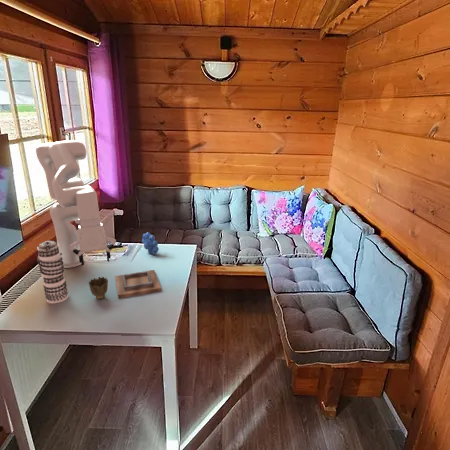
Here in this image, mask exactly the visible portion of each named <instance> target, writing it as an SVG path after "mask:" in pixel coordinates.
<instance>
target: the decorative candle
mask: <svg viewBox="0 0 450 450" xmlns="http://www.w3.org/2000/svg"><path fill="white" fill-rule="evenodd" d="M36 250H37V255H38V256H37V258H36V260H37V265H39V266H38V268H39V272H40V275H41V277H42V279H43V280H42V281H43V285H42V286H43V291H44V295H45V299H46V302H47V303H48V304H54V305H55V304H59V303H62V302H64V301H66V300H67V299H68V298H69V294H68V293H69V292H68V287H67V286H68V285H67V281H66V278H65V276H64V272H65V268H64V266H63V265H62V264H63V261H62V260H63V258H62V257H60V255H62V253H60V251H59V244H58V243H57V241H54V240H45V241H43V242H40V243H39V245H38V246H37V247H36Z"/></svg>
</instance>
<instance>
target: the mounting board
mask: <svg viewBox="0 0 450 450" xmlns="http://www.w3.org/2000/svg"><path fill="white" fill-rule="evenodd" d="M114 277H115V278H114V279H115V285H116V290H117V291H116V292H117V299H122V298H128V297H135V296H140V295H145V294H150V293H151V294H152V293H156V292H161V291H162V287H161V283H160V280H159V279H158V276H157V273H156V270H155V269H152V270H150V269H149V270H145V271H139V272H138V271H137V272H132V273H131V272H130V273H125V274H119V275H118V274H117V275H114Z"/></svg>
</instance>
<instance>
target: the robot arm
mask: <svg viewBox="0 0 450 450" xmlns="http://www.w3.org/2000/svg"><path fill="white" fill-rule="evenodd" d="M35 153H36V158H37V160H38V162H39V163H40V166H41V167H42V168H43V171H44V173H45V177H46V184H47V188H48V194H49V195H50V197H51V199H53V201H57V203H55V204H52V205H50V208H49V214H50V218H51V220H52V223H53V227H54V232H55V236H56V243H58V244H59V251H60V253H62V255H60V257H62V258H63V260H62V261H63V264H62V265H63V266H64V268H63V269H72V268H77V267H78V266H81V265H82V266H84V265H85V257H84V254H83V253H87V252H88V253H89V252H95V251H103V250H105V252H106V260H107V262H110V259H111V252H112V249H114V247H115V244H116V243H117V239H115V238H113V237H109V236H106V231H105V228H104V225H103V223H102V222H101V217H100V209H99V202H98V201H99V200H98V195H97V191H96V190H95V189H94V188H93V186H92V185H85V183H84V181H83V180H82V179H81V178H80V177H76V176H78V175H79V173H80V171H81V170H80V166H79V163H78V161H81V160H85V159H86V157H87V148H86V146H85V144H84V143H83V142H82V141H81V140H78V139H77V140H76V139H75V140H74V139H73V140H72V139H71V140H61V141H60V140H59V141H55V142H46V143H45V142H44V143H41V144H38V145H37V146H36V147H35ZM73 221H74V222H75V224H76V225H78V227H76V226H75V225H74V224H72V223H71V222H73ZM108 242H109V243H110V245H108Z"/></svg>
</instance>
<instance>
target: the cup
mask: <svg viewBox="0 0 450 450" xmlns="http://www.w3.org/2000/svg"><path fill="white" fill-rule="evenodd" d="M108 283H109V282H108V278H107V277H104V276H102V277H101V276H98V278H95V277H94V278H93V279H90V281H88V286H89V290H90V292H91V294H92V296H94V297H95V298H96V300H103V299H105V298H106V295H107V293H108V288H109V286H108V285H109V284H108Z"/></svg>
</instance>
